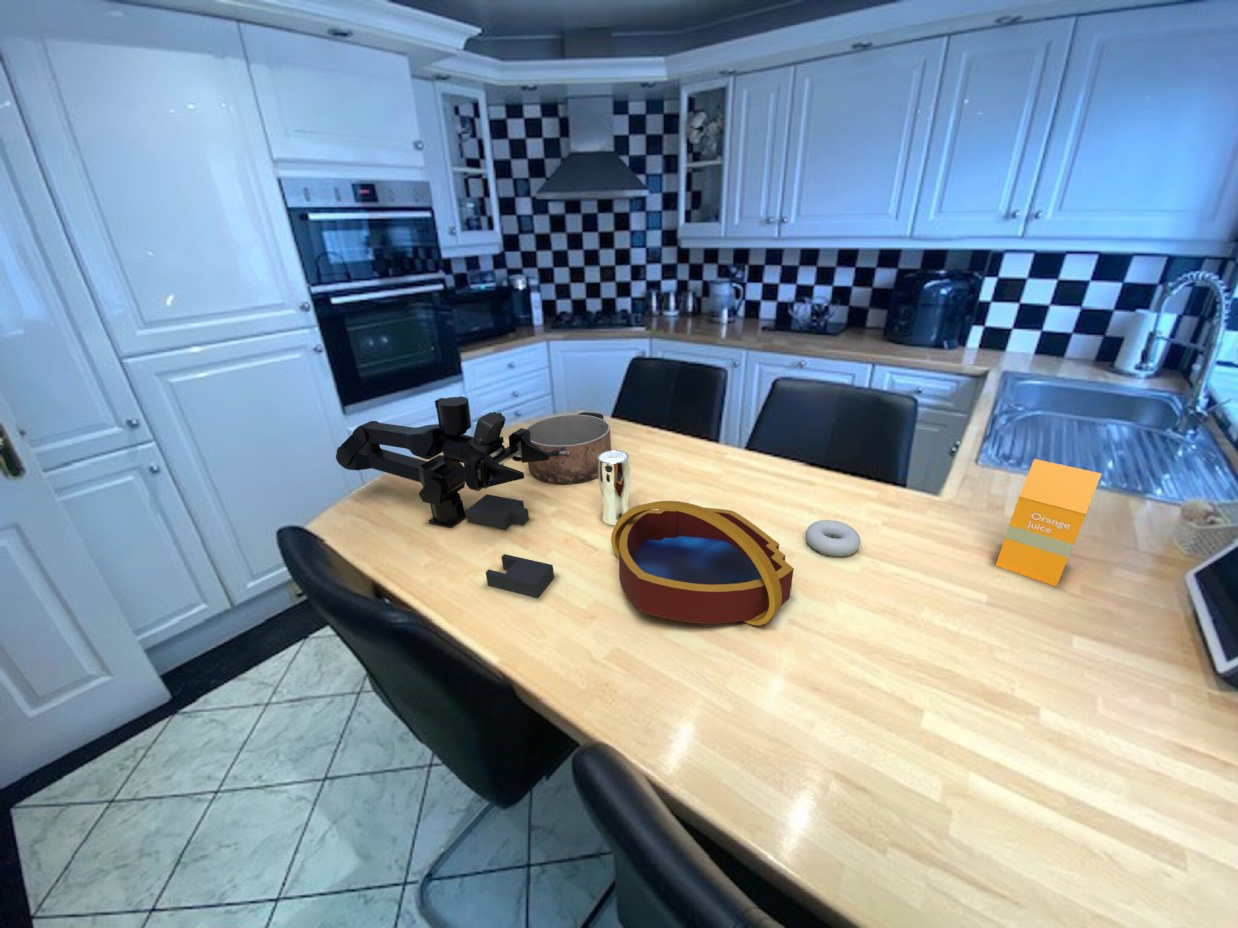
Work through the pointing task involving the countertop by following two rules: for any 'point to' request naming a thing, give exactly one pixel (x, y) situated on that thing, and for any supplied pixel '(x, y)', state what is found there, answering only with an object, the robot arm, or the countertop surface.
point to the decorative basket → (699, 564)
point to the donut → (841, 546)
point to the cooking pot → (569, 447)
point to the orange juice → (1047, 520)
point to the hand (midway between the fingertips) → (536, 466)
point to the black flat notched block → (521, 576)
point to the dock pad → (497, 512)
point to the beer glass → (614, 484)
